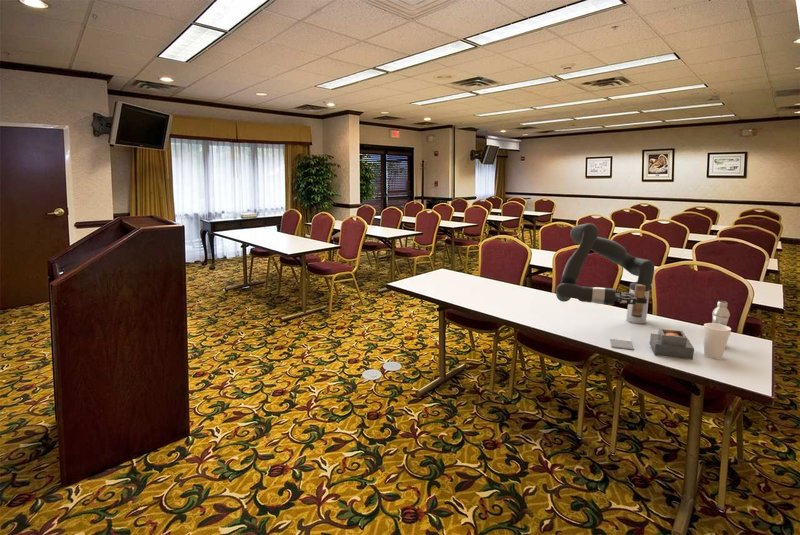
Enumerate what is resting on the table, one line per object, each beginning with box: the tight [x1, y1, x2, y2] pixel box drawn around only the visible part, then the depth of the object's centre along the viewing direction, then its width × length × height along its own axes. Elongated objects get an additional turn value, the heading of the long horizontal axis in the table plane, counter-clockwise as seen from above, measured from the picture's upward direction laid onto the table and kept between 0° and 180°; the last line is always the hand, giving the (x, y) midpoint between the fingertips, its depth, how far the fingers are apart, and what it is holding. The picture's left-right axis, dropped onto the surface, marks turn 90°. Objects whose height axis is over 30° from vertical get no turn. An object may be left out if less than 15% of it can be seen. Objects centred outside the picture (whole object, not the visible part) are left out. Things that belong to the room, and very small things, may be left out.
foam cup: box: [702, 322, 732, 360], centre depth 187 cm, size 10×9×13 cm
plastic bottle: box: [711, 300, 731, 326], centre depth 200 cm, size 6×7×20 cm
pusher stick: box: [631, 284, 646, 317], centre depth 195 cm, size 4×4×14 cm
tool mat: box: [609, 338, 635, 351], centre depth 201 cm, size 10×9×1 cm
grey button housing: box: [649, 328, 695, 361], centre depth 193 cm, size 14×14×8 cm
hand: (645, 299), depth 194 cm, fingers closed on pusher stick, 4 cm apart
